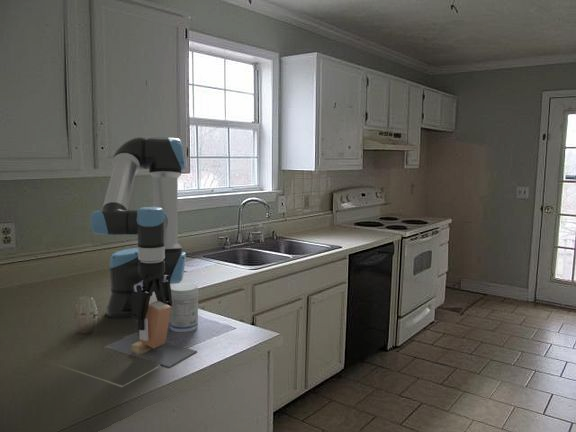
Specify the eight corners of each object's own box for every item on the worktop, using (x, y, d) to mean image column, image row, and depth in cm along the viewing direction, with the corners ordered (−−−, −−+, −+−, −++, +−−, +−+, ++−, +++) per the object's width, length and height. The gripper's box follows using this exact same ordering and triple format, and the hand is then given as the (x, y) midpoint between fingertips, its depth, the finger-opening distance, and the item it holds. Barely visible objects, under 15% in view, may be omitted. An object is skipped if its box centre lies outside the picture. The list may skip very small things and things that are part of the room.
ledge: (155, 342, 151) (155, 333, 150) (162, 344, 149) (162, 335, 149) (131, 354, 142) (131, 344, 142) (139, 356, 141) (138, 346, 140)
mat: (133, 335, 157) (133, 334, 156) (196, 352, 144) (196, 350, 144) (103, 348, 146) (103, 347, 146) (169, 367, 134) (169, 366, 134)
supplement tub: (171, 323, 168) (170, 282, 165) (199, 322, 168) (198, 282, 166) (167, 334, 158) (166, 290, 156) (196, 333, 159) (196, 290, 157)
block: (153, 336, 147) (158, 299, 145) (165, 342, 145) (171, 305, 142) (141, 341, 143) (146, 304, 140) (153, 348, 141) (159, 310, 138)
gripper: (165, 252, 151) (166, 322, 154) (115, 265, 134) (118, 344, 137) (184, 255, 148) (185, 327, 151) (135, 269, 130) (137, 349, 133)
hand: (153, 335), depth 144 cm, fingers open, 7 cm apart
